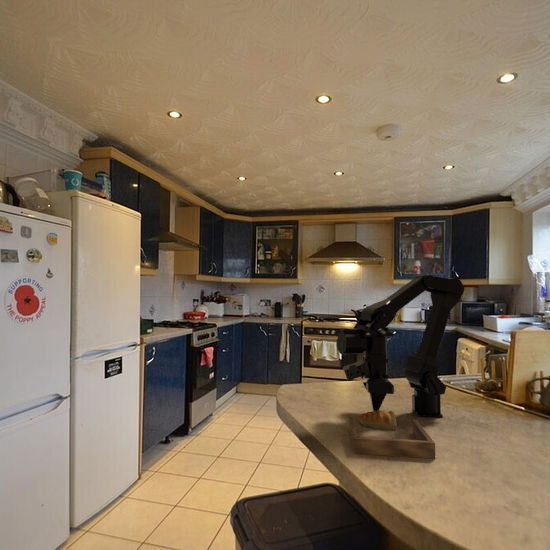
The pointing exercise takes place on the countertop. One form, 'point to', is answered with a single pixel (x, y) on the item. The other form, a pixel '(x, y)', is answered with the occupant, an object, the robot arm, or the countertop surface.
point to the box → (394, 443)
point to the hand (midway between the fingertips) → (375, 412)
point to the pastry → (379, 419)
